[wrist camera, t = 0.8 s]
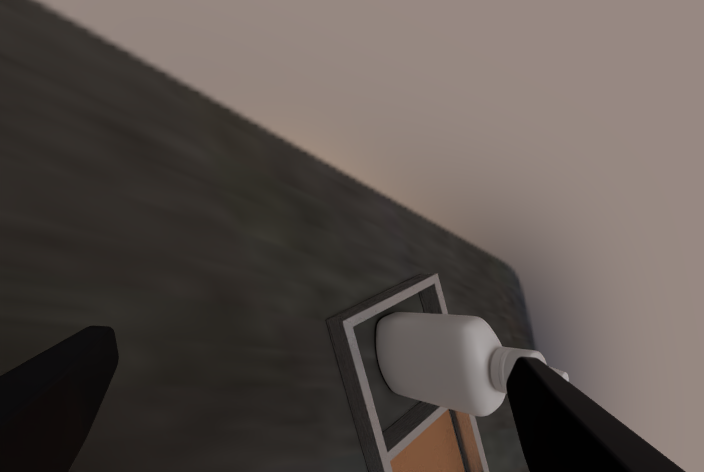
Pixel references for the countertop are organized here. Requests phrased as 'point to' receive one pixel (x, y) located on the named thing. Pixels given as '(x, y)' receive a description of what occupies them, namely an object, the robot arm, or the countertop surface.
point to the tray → (421, 421)
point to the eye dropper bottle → (446, 360)
